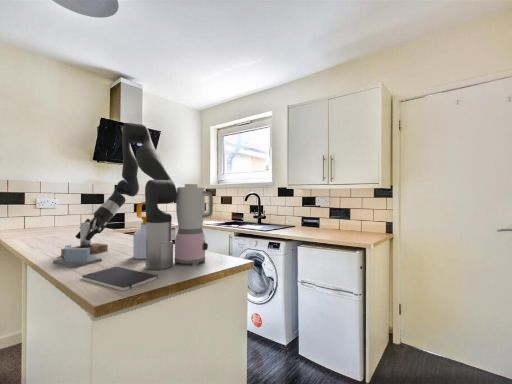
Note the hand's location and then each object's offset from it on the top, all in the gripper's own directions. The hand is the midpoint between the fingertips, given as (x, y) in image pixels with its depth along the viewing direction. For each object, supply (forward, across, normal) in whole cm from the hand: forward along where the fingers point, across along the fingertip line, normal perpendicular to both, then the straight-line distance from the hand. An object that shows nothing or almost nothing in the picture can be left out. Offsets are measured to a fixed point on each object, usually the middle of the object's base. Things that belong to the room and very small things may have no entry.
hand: (82, 238), depth 121 cm
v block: (+12, +12, -2) cm, 17 cm away
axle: (+4, 0, +6) cm, 7 cm away
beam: (+4, 0, +6) cm, 7 cm away
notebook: (+15, +45, -4) cm, 48 cm away
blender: (-5, +53, +15) cm, 55 cm away
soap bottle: (-2, +28, +12) cm, 31 cm away
